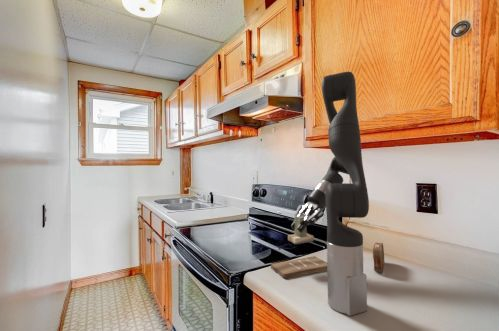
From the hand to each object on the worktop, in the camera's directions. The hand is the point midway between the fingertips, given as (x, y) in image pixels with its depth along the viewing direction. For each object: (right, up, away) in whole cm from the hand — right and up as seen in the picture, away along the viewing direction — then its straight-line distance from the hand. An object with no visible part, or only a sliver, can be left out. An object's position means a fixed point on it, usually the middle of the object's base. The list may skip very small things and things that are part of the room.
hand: (295, 229), depth 94 cm
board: (+2, -15, +1) cm, 15 cm away
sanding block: (+2, -5, +1) cm, 5 cm away
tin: (+31, -15, +1) cm, 34 cm away
